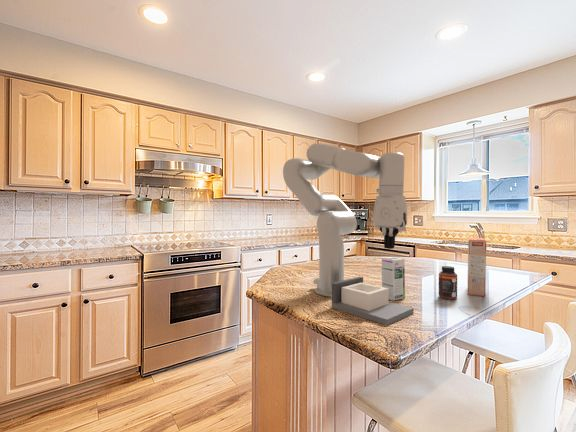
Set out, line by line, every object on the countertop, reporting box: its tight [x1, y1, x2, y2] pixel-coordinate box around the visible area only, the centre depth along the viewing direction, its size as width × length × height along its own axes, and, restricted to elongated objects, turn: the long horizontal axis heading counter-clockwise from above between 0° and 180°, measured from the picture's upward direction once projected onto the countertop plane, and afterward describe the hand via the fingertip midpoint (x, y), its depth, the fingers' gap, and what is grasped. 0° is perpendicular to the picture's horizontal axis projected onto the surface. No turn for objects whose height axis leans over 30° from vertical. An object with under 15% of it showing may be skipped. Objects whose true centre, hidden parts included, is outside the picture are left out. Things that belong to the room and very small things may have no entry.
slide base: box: [331, 276, 415, 326], centre depth 94 cm, size 20×15×8 cm
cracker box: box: [467, 237, 487, 297], centre depth 116 cm, size 14×6×21 cm, turn 148°
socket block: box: [341, 282, 390, 311], centre depth 96 cm, size 11×11×5 cm
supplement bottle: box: [438, 265, 458, 301], centre depth 108 cm, size 6×6×11 cm
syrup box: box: [381, 256, 406, 302], centre depth 108 cm, size 6×6×14 cm
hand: (389, 248), depth 96 cm, fingers closed
